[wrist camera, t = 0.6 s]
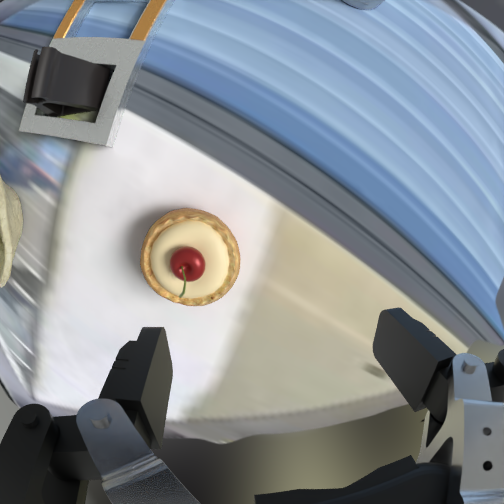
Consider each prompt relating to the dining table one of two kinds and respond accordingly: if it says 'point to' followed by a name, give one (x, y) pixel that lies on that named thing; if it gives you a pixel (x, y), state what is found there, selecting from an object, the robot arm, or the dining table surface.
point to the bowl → (8, 229)
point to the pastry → (190, 257)
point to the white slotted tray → (107, 55)
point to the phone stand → (65, 83)
